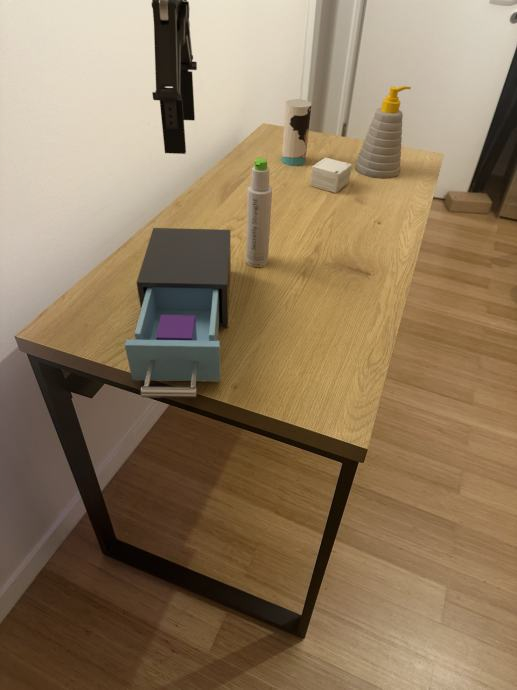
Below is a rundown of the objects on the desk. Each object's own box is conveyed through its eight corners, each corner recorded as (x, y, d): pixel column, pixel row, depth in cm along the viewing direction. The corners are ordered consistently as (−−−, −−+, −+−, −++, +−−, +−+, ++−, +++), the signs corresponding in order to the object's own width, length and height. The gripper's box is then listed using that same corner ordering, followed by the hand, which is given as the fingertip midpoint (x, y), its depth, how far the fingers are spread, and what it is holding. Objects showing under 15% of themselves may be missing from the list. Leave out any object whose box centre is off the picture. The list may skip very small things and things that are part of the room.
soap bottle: (409, 174, 126) (431, 92, 112) (372, 181, 122) (390, 96, 108) (381, 158, 134) (398, 79, 120) (345, 164, 130) (359, 83, 116)
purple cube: (159, 362, 67) (155, 337, 64) (164, 339, 71) (161, 314, 67) (194, 363, 67) (192, 338, 64) (197, 340, 71) (195, 315, 67)
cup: (307, 165, 128) (314, 107, 118) (284, 166, 127) (288, 107, 117) (302, 156, 133) (308, 99, 123) (279, 156, 132) (283, 99, 122)
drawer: (218, 415, 62) (217, 381, 57) (123, 414, 61) (114, 379, 57) (224, 313, 78) (224, 279, 73) (149, 311, 77) (144, 277, 73)
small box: (322, 175, 123) (325, 156, 120) (349, 183, 120) (352, 163, 117) (308, 185, 118) (311, 165, 115) (336, 194, 115) (339, 173, 112)
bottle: (241, 261, 91) (242, 160, 78) (255, 252, 94) (259, 153, 80) (258, 269, 89) (262, 167, 76) (272, 260, 92) (279, 160, 78)
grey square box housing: (227, 327, 76) (227, 284, 70) (144, 326, 76) (136, 282, 70) (230, 270, 89) (230, 229, 83) (158, 269, 88) (153, 227, 82)
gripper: (189, -55, 43) (200, 170, 57) (207, -64, 61) (212, 109, 76) (108, -59, 43) (139, 168, 57) (150, -67, 61) (166, 107, 75)
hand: (181, 135), depth 66 cm, fingers open, 13 cm apart
